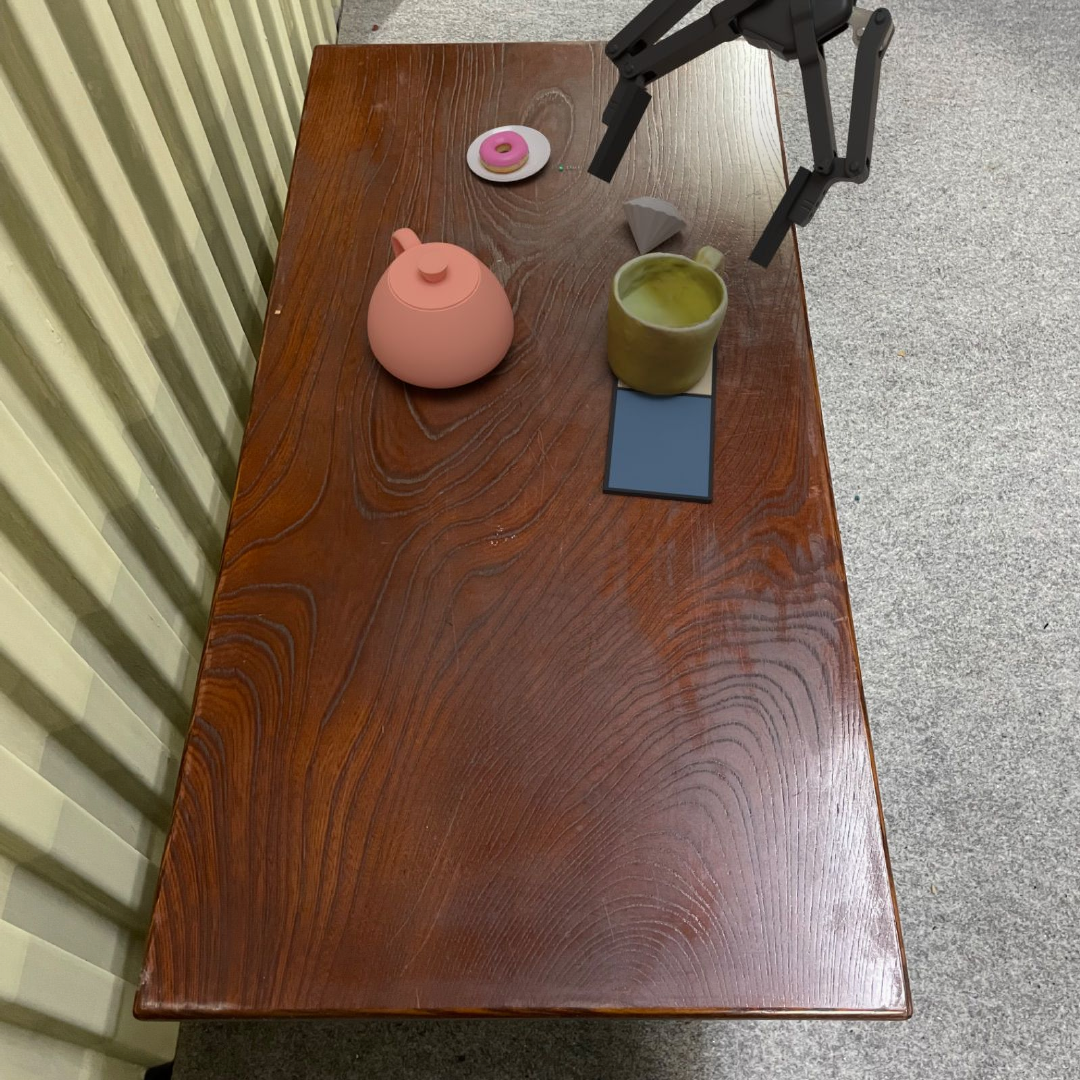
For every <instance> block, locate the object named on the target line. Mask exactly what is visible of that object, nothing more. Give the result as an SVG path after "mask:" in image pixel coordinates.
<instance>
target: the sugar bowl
mask: <svg viewBox="0 0 1080 1080" xmlns="http://www.w3.org/2000/svg"><path fill="white" fill-rule="evenodd" d="M391 244H392V249H393V253H394V255H395V259H394V260H393V261H392V262H391V263H390V264H389V266H388V267H387V268H386V269H385V271H384V272H383V274H382V275H381V277H380V278H379V281H378V282H377V284H376V286H375V287H374V289H373V292H372V295H371V298H370V302H369V306H368V311H367V321H366V322H367V323H366V324H367V325H366V326H367V327H366V328H367V337H368V342H369V346H370V349H371V351H372V353H373V355H374V357H375V358H376V360H377V361H378V362H379V363H380V364H381V365H382V367H383V368H384V369H385V370H386V371H387V372H389V373H390V374H391V375H392V376H394V377H396V378H397V379H399V380H400V381H403V382H404V383H407V384H410V385H414V386H417V387H420V388H421V387H422V388H426V389H450V388H456V387H461V386H465V385H467V384H469V383H473V382H474V381H476V380H478V379H480V378H482V377H484V376H485V375H487V374H489V373H490V372H491V371H493V370H494V369H495V368H496V367H497V366H498V365H499V364H500V363H501V362H502V361H503V360H504V358H505V356H506V355H507V353H508V351H509V350H510V347H511V345H512V342H513V338H514V333H515V320H514V314H513V309H512V306H511V303H510V299H509V297H508V295H507V293H506V290H505V289H504V287H503V285H502V284H501V282H500V280H499V279H498V278H497V277H496V275H495V274H494V272H492V271H491V269H490V268H489V267H487V266H486V265H485V263H484V262H482V261H481V260H480V259H479V258H477V257H476V256H475V255H474V254H472V253H471V252H470V251H468V250H466V249H465V248H462V247H460V246H459V245H455V244H452V243H447V242H439V241H437V242H427V243H422V242H421V240H420V239H419V237H418V235H417V234H416V233H415V231H413V230H412V229H411V228H408V227H402V228H399V229H396V230H395V231H393V233H392V235H391Z"/></svg>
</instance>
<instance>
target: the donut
mask: <svg viewBox="0 0 1080 1080" xmlns="http://www.w3.org/2000/svg"><path fill="white" fill-rule="evenodd" d="M551 150H552V149H551V144H550V141H549V140H548V138H547V137H546V136H545V135H544V134H543V133H541V132H540V131H539V130H537V129H534V128H532V127H529V126H524V125H517V124H516V125H503V126H499V127H496V128H491V129H490V130H487V131H485V132H483V133H481V134H480V135H478V136H477V137H476V138H475V139H474V141H472V142H471V144H470V145H469V147H468V149H467V153H466V162H467V164H468V167H469V168H470V170H471V171H472V172H473V173H475V174H476V175H477V176H479V177H481V178H483V179H485V180H488V181H494V182H499V183H500V182H501V183H502V182H503V183H504V182H505V183H508V182H513V181H519V180H523V179H526V178H528V177H530V176H533V175H534V174H536V173H537V172H539V171H540V170H541V169H542V168H543V167H544V166H545V165H546V164H547V162H548V161H549V159H550V156H551ZM577 166H578V167H577ZM577 166H575V167H574V165H573V166H572V165H569V166H568V165H567V166H566V170H569V169H570V170H571V169H572V170H574V169H575V170H577V168H578V170H579V169H580V166H579V165H577ZM558 170H559V171H562V170H563V167H562V166H559V167H558Z"/></svg>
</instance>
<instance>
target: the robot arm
mask: <svg viewBox="0 0 1080 1080" xmlns="http://www.w3.org/2000/svg"><path fill="white" fill-rule="evenodd" d="M701 2H703V0H652V1H650V2H649V3H648V4H647V5H646V6H645V7H643V9H642V10H641V11H640V12H639V13H637V14H636V15H635V17H633V18H632V19H631V20H630V21H629V22H628V23H627V24H626V25H625V26H624V27H623V28H622V29H620V30H619V31H618V32H617V33H616V34H615V35H614V36H613V37H612V38H611V39H610V40H608V41H607V43H606V45H605V47H604V54H605V56H606V57H607V58H608V59H610V61H611V62H612V64H613V65H614V66H615V67H616V68H617V70H618V73H619V76H618V80H617V83H616V85H615V87H614V88H613V91H612V93H611V95H610V98H609V100H608V102H607V104H606V106H605V108H604V110H603V112H602V116H601V124H604V125H605V126H607V128H606V131H605V132H604V135H603V137H602V139H601V141H600V143H599V145H598V148H597V149H596V152H595V154H594V156H593V158H592V160H591V162H590V164H589V167H588V168H587V171H586V173H588V174H590V175H592V176H593V177H596V178H597V179H600V180H601V181H603V182H605V183H607V184H611V182H612V179H613V178H614V176H615V174H616V172H617V170H618V168H619V165H620V163H621V161H622V159H623V158H624V155H625V153H626V151H627V149H628V147H629V145H630V143H631V141H632V139H633V137H634V135H635V133H636V131H637V129H638V127H639V124H640V123H641V121H642V119H643V117H644V115H645V113H646V110H647V108H648V106H649V105H650V102H651V101H652V99H653V95H652V94H650V93H649V92H648V88H647V86H648V85H650V84H652V83H654V82H656V81H657V80H659V79H661V78H663V77H665V76H666V75H668V74H670V73H672V72H674V71H675V70H677V69H679V68H680V67H683V66H684V65H686V64H688V63H690V62H692V61H693V60H695V59H696V58H698V57H700V56H702V55H705V54H706V53H707V52H710V51H711V50H713V49H715V48H716V47H718V46H720V45H722V44H724V43H730V42H731V43H732V42H733V41H735V40H737V39H738V38H739V39H740V38H741V37H743V38H744V40H745V41H746V43H747V44H748V45H750V46H752V47H753V48H756V49H758V50H765V51H766V50H767V51H770V52H772V53H773V54H774V55H775V56H776V57H777V59H780V60H783V61H785V62H787V63H789V62H790V61H795V60H797V61H798V65H799V69H800V74H801V81H802V88H803V95H804V102H805V108H806V116H807V123H808V130H809V137H810V138H809V139H810V145H811V152H812V159H813V164H812V168H813V170H810V169H808V168H806V167H805V166H802V165H800V166H799V167H798V169H797V170H796V172H795V174H794V176H793V177H792V180H791V182H790V183H789V185H788V186H787V188H786V191H785V192H784V193H783V196H782V197H781V199H780V201H779V203H778V204H777V206H776V208H775V210H774V212H773V214H772V215H771V217H770V218H769V221H768V222H767V224H766V226H765V228H764V230H763V231H762V233H761V235H760V237H759V239H758V240H757V242H756V244H755V246H754V247H753V249H752V251H751V253H750V255H749V256H748V258H747V260H749V261H750V262H752V263H754V264H756V265H758V266H760V267H762V268H764V269H766V270H767V269H768V268H769V267H770V264H771V262H772V260H773V259H774V257H775V255H776V254H777V252H778V251H779V249H780V246H781V245H782V243H783V241H784V240H785V238H786V236H787V234H788V233H789V231H790V230H791V227H792V226H793V224H795V225H797V226H799V227H801V228H802V229H804V228H805V227H806V226H808V225H809V224H810V223H811V222H812V220H813V218H814V216H815V214H816V213H817V211H818V209H819V208H820V206H821V204H822V202H823V201H824V199H825V197H826V195H827V194H828V192H829V190H830V189H831V188H832V186H833V185H835V184H836V183H837V184H838V183H853V184H855V185H861V184H862V185H863V184H864V183H865V182H866V183H867V181H868V179H869V178H870V174H871V173H870V172H871V163H872V155H873V147H874V138H875V137H874V136H875V126H876V118H877V108H878V98H879V91H880V90H879V89H880V80H881V73H882V61H883V59H884V57H885V55H886V53H887V51H888V48H889V46H890V43H891V41H892V39H893V37H894V35H895V31H896V28H895V23H894V21H893V17H892V14H891V12H890V10H889V9H888V8H887V7H878V8H876V9H875V10H874V11H873V10H870V9H867V8H862V7H859V6H857V2H858V0H721V1H720V2H718V3H717V4H714V5H713V6H712V7H711V8H710V9H709V12H708V13H706V14H704V15H703V16H701V17H699V18H697V19H696V20H694V21H692V22H689V24H687V25H685V26H684V27H682V28H680V29H678V30H677V31H675V32H673V33H671V34H669V35H668V36H666V37H664V36H665V35H666V34H667V33H668V32H669V31H671V29H673V28H674V27H675V26H676V25H677V24H678V23H679V22H681V20H682V19H684V18H685V16H687V15H688V14H689V13H690V12H691V11H692V10H693V9H694V8H695V7H697V6H698V5H699V4H700V3H701ZM849 28H850V29H852V37H851V40H852V42H853V44H854V47H855V48H856V56H855V63H854V74H853V83H852V90H851V91H852V94H851V100H850V101H851V102H850V112H849V120H848V121H849V122H848V131H847V141H846V150H845V157H842V156H841V157H839V152H838V146H837V145H838V144H837V139H836V132H835V131H836V130H835V126H834V125H835V124H834V117H833V112H832V111H833V110H832V103H831V97H830V90H829V89H830V88H829V82H828V68H827V61H826V54H825V46H824V45H825V44H826V43H828V42H830V41H831V40H833V39H835V38H836V37H838V36H839V35H841V34H842V33H844V32H845V31H847V30H848V29H849ZM663 37H664V38H663ZM662 38H663V39H662Z"/></svg>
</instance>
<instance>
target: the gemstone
mask: <svg viewBox="0 0 1080 1080" xmlns="http://www.w3.org/2000/svg"><path fill="white" fill-rule="evenodd" d="M621 206H622V209H623V212H624V214H625V217H626V220H627V223H628V225H629V228H630V230H631V233H632V236H633V238H634V241H635V244H636V246H637V249H638V251H639V255H640V256H642V255H645V254H648V253H649V252H650V251H652V250H654V249H655V248H656V247H658V246H659V245H661V244H662V243H663V242H665V241H666V240H668V239H670V238H671V237H672V236H673V235H675V234H677V233H678V232H680V231H681V230H683V229H684V228H686V227H687V225H688V223H687V221H686V219H685V218H684V217H683V215H682V214H681V213H680V212H679V210H678V209H677V208H676V207H675V205H674V204H672V203H671V202H668V201H666V200H664V199H660V198H656V197H653V196H647V195H644V196H643V195H642V196H639V197H638V198H634V199H631V200H628V201H626V202H623V203H622V205H621Z"/></svg>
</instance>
